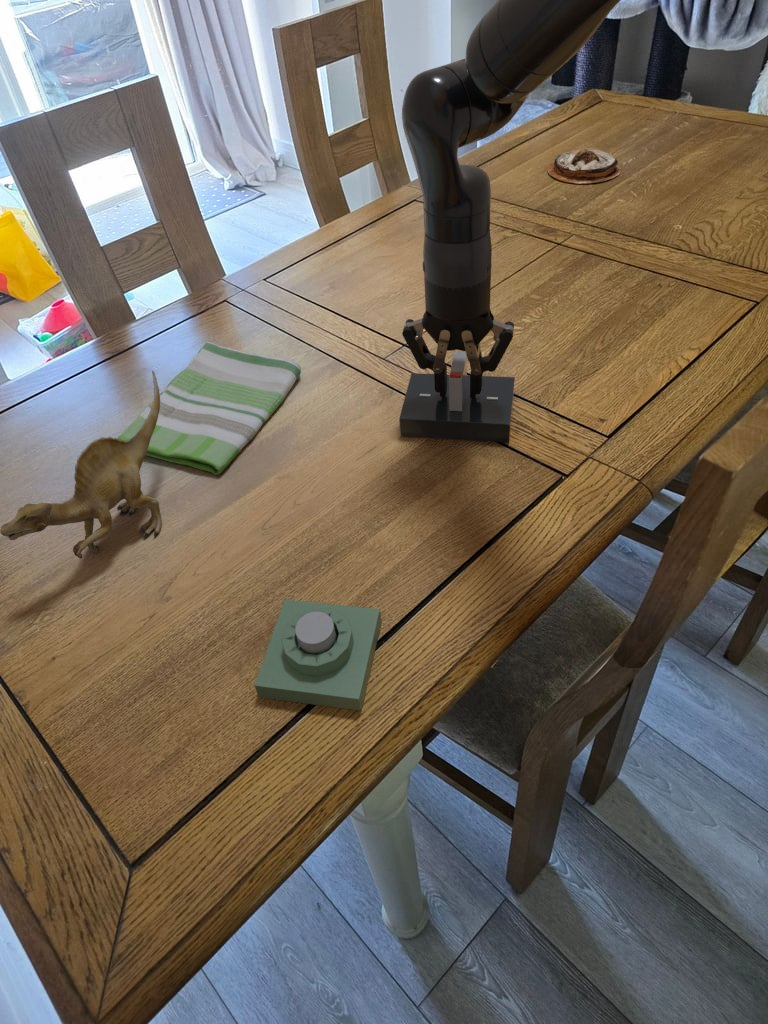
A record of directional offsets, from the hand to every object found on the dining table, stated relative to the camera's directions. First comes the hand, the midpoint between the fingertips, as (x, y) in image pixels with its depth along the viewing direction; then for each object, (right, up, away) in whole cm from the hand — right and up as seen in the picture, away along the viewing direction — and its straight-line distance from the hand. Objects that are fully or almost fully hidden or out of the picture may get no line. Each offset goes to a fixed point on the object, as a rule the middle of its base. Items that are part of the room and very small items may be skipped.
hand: (458, 393), depth 90 cm
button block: (-16, -30, -22) cm, 40 cm away
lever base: (0, -3, +3) cm, 4 cm away
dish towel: (-33, -2, +8) cm, 34 cm away
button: (-16, -27, -24) cm, 40 cm away
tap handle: (0, 0, 0) cm, 1 cm away
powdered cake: (+32, +56, +56) cm, 86 cm away
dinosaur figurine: (-39, -16, -6) cm, 43 cm away
